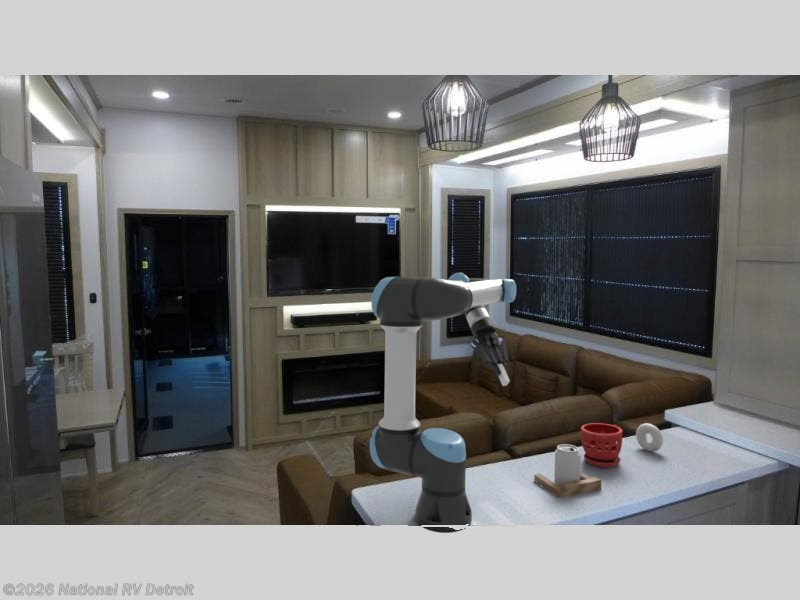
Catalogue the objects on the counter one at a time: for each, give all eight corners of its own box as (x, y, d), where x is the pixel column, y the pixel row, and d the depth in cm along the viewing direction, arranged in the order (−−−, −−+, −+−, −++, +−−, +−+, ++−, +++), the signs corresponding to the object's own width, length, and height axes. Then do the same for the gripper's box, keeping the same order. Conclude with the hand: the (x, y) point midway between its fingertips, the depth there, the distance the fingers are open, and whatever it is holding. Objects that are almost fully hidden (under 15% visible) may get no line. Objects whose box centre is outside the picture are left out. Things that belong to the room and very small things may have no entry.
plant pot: (622, 458, 182) (623, 424, 181) (620, 472, 171) (621, 436, 169) (582, 452, 188) (583, 419, 187) (578, 466, 176) (579, 431, 175)
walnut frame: (559, 497, 153) (559, 488, 153) (534, 480, 165) (534, 471, 165) (601, 489, 158) (601, 480, 158) (573, 473, 170) (574, 464, 170)
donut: (633, 447, 192) (634, 420, 192) (639, 445, 194) (640, 419, 193) (658, 456, 184) (659, 428, 183) (664, 454, 185) (665, 426, 185)
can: (582, 491, 157) (583, 452, 156) (556, 490, 158) (557, 451, 157) (577, 480, 165) (578, 443, 164) (552, 479, 166) (553, 442, 165)
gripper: (493, 330, 185) (519, 387, 171) (460, 332, 181) (483, 391, 167) (501, 316, 180) (528, 375, 166) (467, 318, 175) (492, 378, 161)
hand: (506, 383), depth 166 cm, fingers closed
